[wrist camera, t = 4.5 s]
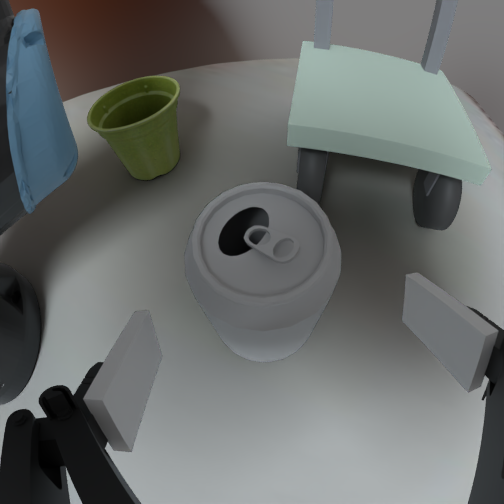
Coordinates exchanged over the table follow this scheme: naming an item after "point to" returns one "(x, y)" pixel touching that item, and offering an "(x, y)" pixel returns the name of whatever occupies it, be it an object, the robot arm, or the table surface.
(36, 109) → the robot arm
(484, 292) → the table surface
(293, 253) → the can
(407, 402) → the table surface
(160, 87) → the plant pot
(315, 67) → the trolley
